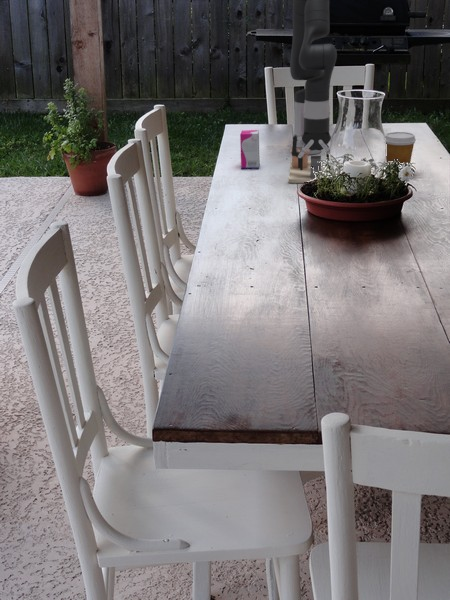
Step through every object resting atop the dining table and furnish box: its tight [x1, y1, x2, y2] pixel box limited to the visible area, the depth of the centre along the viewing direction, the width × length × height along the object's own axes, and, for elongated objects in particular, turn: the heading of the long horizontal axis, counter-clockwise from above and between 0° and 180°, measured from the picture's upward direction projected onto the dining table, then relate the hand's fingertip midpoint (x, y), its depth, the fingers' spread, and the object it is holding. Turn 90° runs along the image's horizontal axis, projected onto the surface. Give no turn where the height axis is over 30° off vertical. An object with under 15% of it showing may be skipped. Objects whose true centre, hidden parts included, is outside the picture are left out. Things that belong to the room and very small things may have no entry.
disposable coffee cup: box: [384, 131, 417, 164], centre depth 242 cm, size 10×10×12 cm
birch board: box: [288, 155, 323, 184], centre depth 247 cm, size 24×10×7 cm, turn 174°
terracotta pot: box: [289, 147, 310, 169], centre depth 249 cm, size 6×6×6 cm
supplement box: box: [239, 129, 261, 170], centre depth 254 cm, size 6×6×12 cm
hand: (315, 169), depth 238 cm, fingers open, 8 cm apart
